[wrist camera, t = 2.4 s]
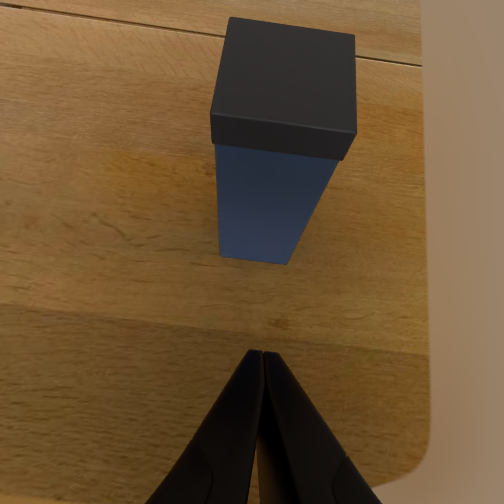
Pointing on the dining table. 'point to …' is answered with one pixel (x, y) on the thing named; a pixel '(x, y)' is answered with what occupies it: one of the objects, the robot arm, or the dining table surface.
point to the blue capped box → (278, 131)
